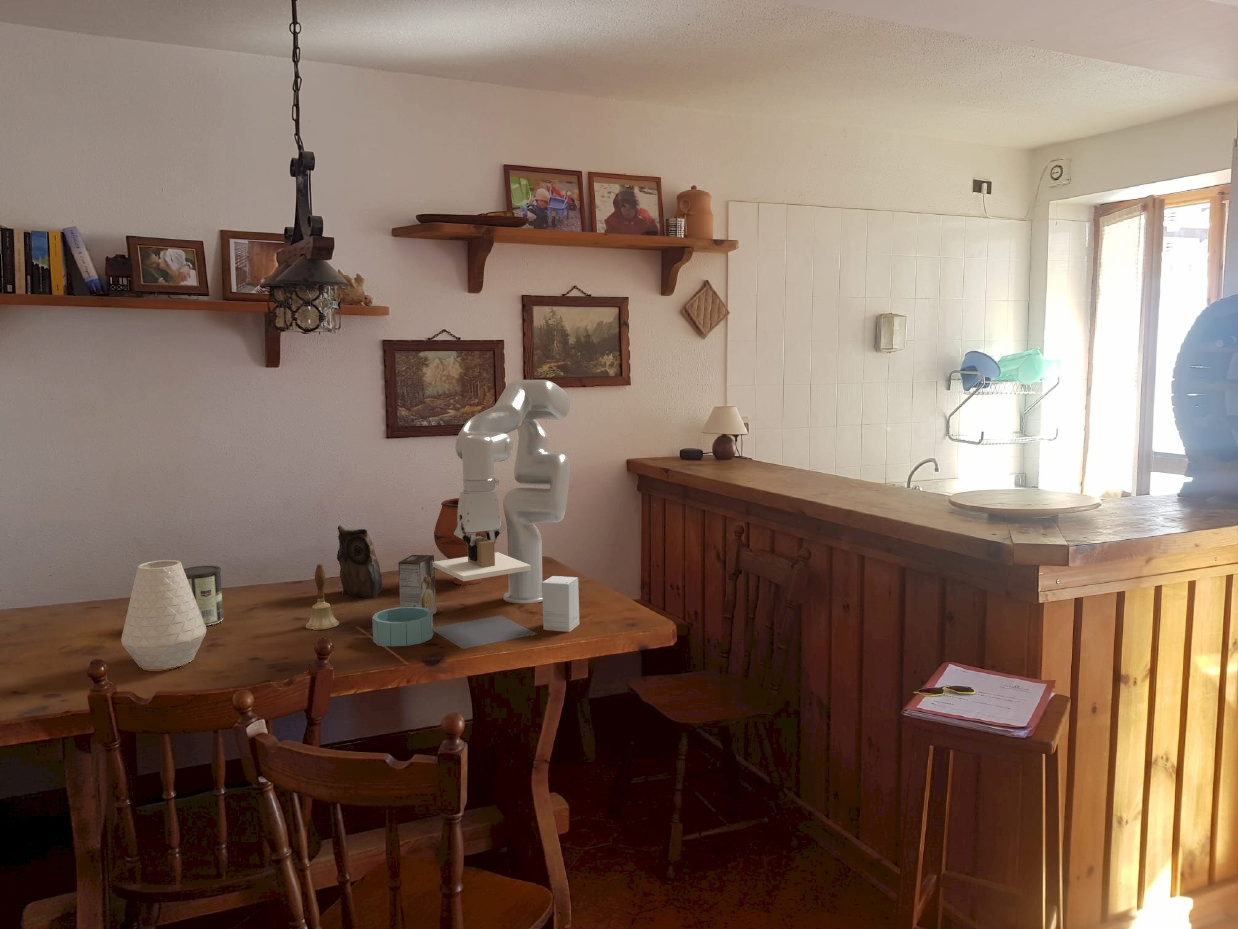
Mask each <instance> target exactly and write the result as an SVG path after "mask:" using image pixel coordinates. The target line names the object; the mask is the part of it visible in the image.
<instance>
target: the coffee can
mask: <svg viewBox="0 0 1238 929" xmlns="http://www.w3.org/2000/svg"><path fill="white" fill-rule="evenodd" d="M183 569H184V572H185V574H186V577H187V579H188V582H189V585H190V587H191V590H192V592H193V595H194V598H195V600H196V603H197V605H198V608H199V610H200V613H201V616H202V618H203V621H204V623H205V626H206V625H211V624H216V623H219V622H220V621H222V620H223V619H224V607H223V595H222V594H223V592H222V578H221V570H222V569H221V567H220V566H218V565H199V566H198V565H196V566H191V567H186V568H183ZM224 620H225V619H224ZM219 624H220V623H219Z"/></svg>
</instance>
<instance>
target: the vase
mask: <svg viewBox="0 0 1238 929" xmlns="http://www.w3.org/2000/svg"><path fill="white" fill-rule="evenodd" d="M184 569H185V568H184V567H183V564H182V561H180V560H176V559H162V560H153V561H148V562H147V561H146V562H144V563H141V564H139V565H137V568H136V571H135V572H136V574H135V577H134V581H133V586H132V590H131V595H130V599H129V603H128V607H127V612H126V616H125V617H126V618H125V621H124V626H123V631H122V634H121V639H120V641H121V642H120V643H121V644H122V646H123V647H124V649H125V650H126V652H127V653H128V654H129V655H130V656H131V658H132V659H133V660H134V662H135V664H136V665H137V666H138V667H139V668H140V667H142V668H145V669H167V668H171V667H176V666H181V665H183V664H186V663H188V662H191V661H192V660H193V661H194V659H195V656H196V655H197V653H198V650H199V648H200V647H201V644H202V643H203V641H204V638H205V636H206V634H207V630H208V629H207V627H206V626H205V623H204V621H203V618H202V616H201V613H200V610H199V608H198V605H197V603H196V600H195V598H194V595H193V592H192V590H191V587H190V585H189V582H188V579H187V577H186V574H185V572H184ZM193 661H192V662H193ZM192 662H191V663H192Z"/></svg>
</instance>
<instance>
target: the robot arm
mask: <svg viewBox="0 0 1238 929" xmlns="http://www.w3.org/2000/svg"><path fill="white" fill-rule="evenodd" d="M569 411H570V399H569V395H568V393H567V392H566V390H564V389H563V388H562V387H560V386H559V385H558V384H556V383H554V382H553V381H550V380H548V379H517V380H513V381H511V382H509V383H508V384H507V385H506V387H505V388H504V390H503V391H502V393H501V395H500V396H499V398H498V400H497V401H496V403H495V404H494V406H492V407H489V408H487V409H486V410H483V411H481V412H480V413H477V414H475V415H474V416H472V417H471V418H469V419H468V420H467V421H466V422H465V423H464V425H463V426H462V428H461V429H460V430H459V432H458V435H457V437H456V441H455V443H454V444H455V445H454V446H455V447H454V449H455V453H456V456H457V457H458V458H459V459H461V460H462V479H463V480H462V481H463V482H462V485H463V487H462V489H463V490H462V491H461V492H459V497H458V498H459V503H458V516H457V528H456V530H455V532H454V535H455V536H457V537H459V538H461V539H462V540H464V541H465V542H466V544H468V557H469V558H470V560H472V561H474V562H475V561H477V546H476V545H475V537H476V533H479V532H485V535H486V539H489V540H491V541H494V542H495V539H496V538H498V537H499V535H500V534H502V533H503V532H504V531H505V530H506V533H507V556H509V557H511V558H514V559H516V560H519V561H521V562H524V563H526V564H529V565H531V570H529V571H522V572H516V573H510V574H507V575H508V591H506V592H505V593H504V594H503V595H502V596H503V601H505V602H508V603H510V604H511V603H512V604H522V605H523V604H535V603H543V601H542V582H544V581H545V580H543V551H542V550H543V549H542V547H543V546H542V545H543V544H542V543H543V542H542V535H541V532H540V531H539V529H538V527H537V526H536V525H535V523H540V524H542V523H543V524H544V523H545V524H546V523H547V524H556V523H559V522H561V521H563V520H564V518H565V514H566V511H567V505H568V504H567V502H568V496H569V494H568V493H569V488H570V479H571V465H570V464H571V463H570V460H569V458H568V456H567V455H565V454H563V453H561V452H555V451H554V452H549V451H548V445H549V437H548V434H547V432H546V431H545V429H544V428H543V426H541V424H540V423H539V422H538V420H542V421H543V420H552V421H553V420H556V421H557V420H563V419H565V418H566V417H567V416H568V414H569ZM516 430H517V435H518V440H517V447H516V448H517V450H516V456H515V461H514V470H513V475H514V476H513V477H514V480H515V481H516V482H517V483H518V484H520V485H524V486H537V487H539V488H537V487H515V488H511V489H510V490H508V491H507V492H506V493H505V495H504V496H503V500H502V501H503V502H502V508H503V512H504V516H505V524H506V525H505V524H504V521H502V516H501V514H502V512H501V506H500V500H499V499H500V498H499V495H498V491H497V490H496V489H495V488H496V486H497V485H499V484H500V480H499V479H496V478H495V467H494V466H495V465H494V463H501V462H505V461H506V460H508V459H509V458H510V457H511V456H512V453H513V450H514V441H513V440H512V438H511V437H510V436H511V435H509V434H508V433H510V432H513V431H516ZM540 486H542V487H549V488H540ZM462 531H465V532H466V535H465V534H463V533H462ZM496 540H497V539H496Z"/></svg>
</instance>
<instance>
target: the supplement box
mask: <svg viewBox="0 0 1238 929" xmlns="http://www.w3.org/2000/svg"><path fill="white" fill-rule="evenodd" d="M543 581H544V582H542V622H543V623H542V624H543V628H542V629H543V631H544V630H546V631H555V632H565V633H566V632H568V633H569V632H571V631H572V630H574V629H575V628H577V627H578V626H579V625H580V600H579V594H580V590H579V577H575V576H560V575H559V576H558V575H551V576H550V577H549V578H547V579H545V580H543Z"/></svg>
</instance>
